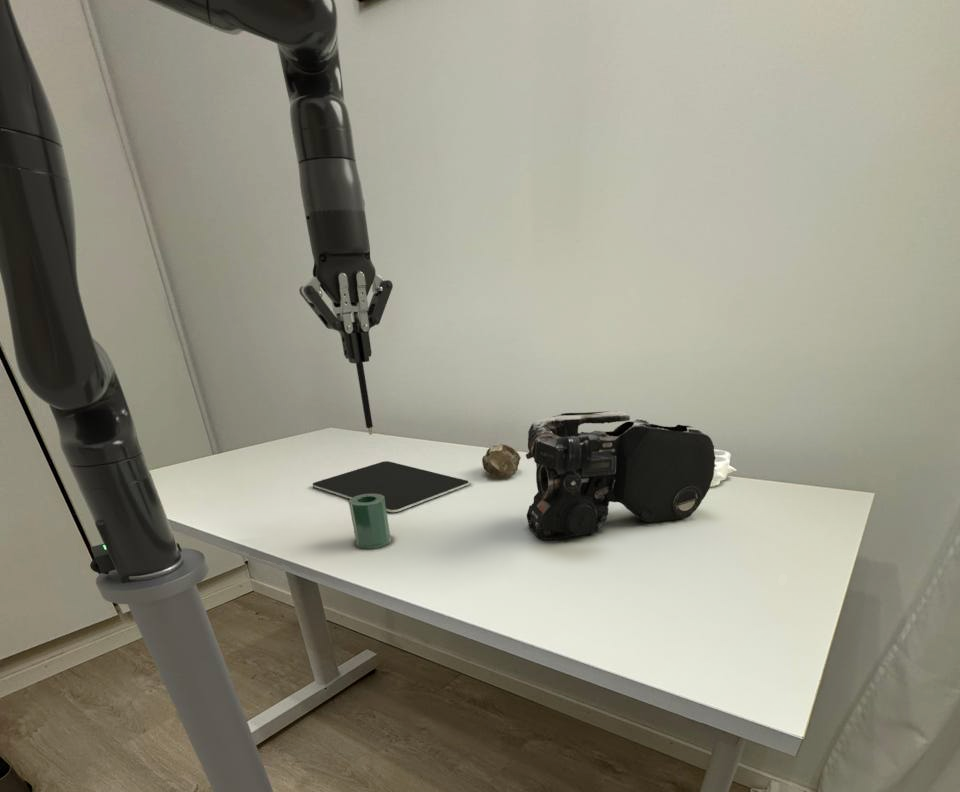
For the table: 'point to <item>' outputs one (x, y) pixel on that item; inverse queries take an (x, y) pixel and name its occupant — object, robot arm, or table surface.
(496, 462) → the brown rock
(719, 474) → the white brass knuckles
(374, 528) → the holder
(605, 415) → the movie camera
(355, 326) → the stylus
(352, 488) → the tablet
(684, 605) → the table surface
